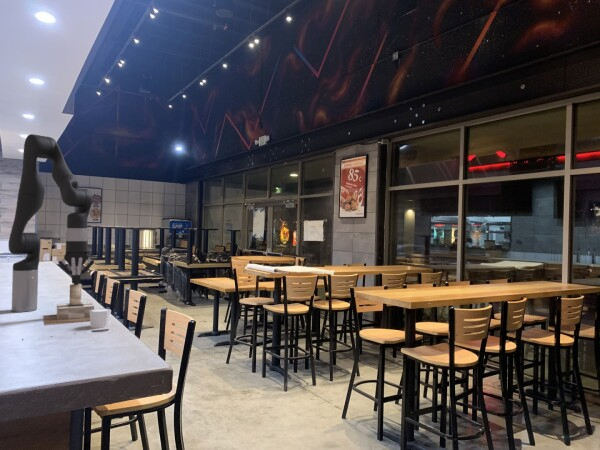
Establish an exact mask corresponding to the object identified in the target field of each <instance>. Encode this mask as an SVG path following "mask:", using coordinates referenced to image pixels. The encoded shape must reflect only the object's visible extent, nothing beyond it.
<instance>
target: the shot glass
mask: <svg viewBox="0 0 600 450" xmlns="http://www.w3.org/2000/svg"><path fill="white" fill-rule="evenodd" d="M111 313H112V310H111V309H110V308H94V310H90V321H89V322H90V328H92V330H90V332H91V333H103V332H108V331H109V330H110V329H109V328H108V327H109V326H110V324H111V323H110V321H111ZM100 328H101V329H100ZM93 329H95V330H93Z"/></svg>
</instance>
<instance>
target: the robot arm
mask: <svg viewBox="0 0 600 450" xmlns="http://www.w3.org/2000/svg"><path fill="white" fill-rule="evenodd" d="M38 159H44V160H45V159H46V160H47V159H48V160H49V161H50V162H51V163H52V169H51V177H52V179H53V181H54V182H55V184H56V185H57V187H58V188H59V193H60V196H61V199H62V202H63V204H65V205H66V206H68V207H73V208H74V207H75V208H77V209H76V211H75V212H71V213H69V214H67V218H66V233H65V254H64V256H63V258H62V259H61V260H58V265H59V266H60V267H61V268H62V269H63V270H64V271H65V272H66V274H68V275H71V283H72V284H74V285H78V284H81V275H83V274H86V272H87V271H88V270H89V269H90V268H91V267H92V266H93V264H94V263H95V260H93V259H91V258H90V257H89V254H88V246H89V245H88V241H89V235H88V234H89V233H88V218H89V215H90V212H91V209H92V205H93V201H94V200H93V199H94V198H93V194H92V193H91V191H89V189H84V188H83V189H81V188H78V187H79V182H78V180H77V178H76V177H75V175H74V174H73V173H72V171H71V170H70V168H69V166H68V164H67V163H66V160H65V158H64V155H63V153H62V151H61V149H60V146H59V144H58V142H57V140H55V139H54V138H53V137H50V136H45V135H38V134H34V133H31V134H29V135H27V136H26V138H25V141H24V144H23V155H22V170H21V177H20V183H19V186H18V193H17V198H16V199H17V201H16V208H15V213H14V219H13V224H12V227H11V230H10V234H9V237H8V238H9V239H8V250H9V252H10V253H11V254H13V255H26V257H25V258H23V259H21V260H20V261H17V262H15V263H13V264H12V283H11V284H12V285H11V287H12V289H11V312H16V313H17V312H18V313H19V312H20V313H21V312H25V313H26V312H31V311H32V312H33V311H37V310H38V294H39V293H38V292H39V291H38V290H39V285H38V284H39V264H40V254H41V244H42V243H41V237H40V234H39V233H37V232H24V231H25V229H26V226H27V224H29V221H31V219H32V218H34V216H35V215H36V214H37V213H39V211H40V210H41V208H42V206H43V204H44V200H45V194H46V189H45V185H44V183H43V181H42V179H41V178H40V176H39V173H38V170H37V162H38V161H37V160H38ZM85 263H86V265H85ZM66 264H68V265H69V266H70V269H69V268H68V267H67V266H66ZM83 265H85V266H84V268H83V269H82V266H83Z"/></svg>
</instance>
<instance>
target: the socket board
mask: <svg viewBox="0 0 600 450" xmlns="http://www.w3.org/2000/svg"><path fill="white" fill-rule="evenodd" d="M69 303H70V302H68V303H57V304H56V314H43V316H42V319H43V325H44V326H53V325H62V324H63V325H65V324H75V323H76V324H77V323H85V322H86V323H87V322H90V310H94V309H95V305H93V302H91V301H85V302H82V301H81V306H73V307H69Z"/></svg>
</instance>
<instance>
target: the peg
mask: <svg viewBox="0 0 600 450" xmlns="http://www.w3.org/2000/svg"><path fill="white" fill-rule="evenodd" d="M82 286H83V285H82V283H78V285H74V283H72V284H69V302H68V303H69V307H73V306H81V303H82Z"/></svg>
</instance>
